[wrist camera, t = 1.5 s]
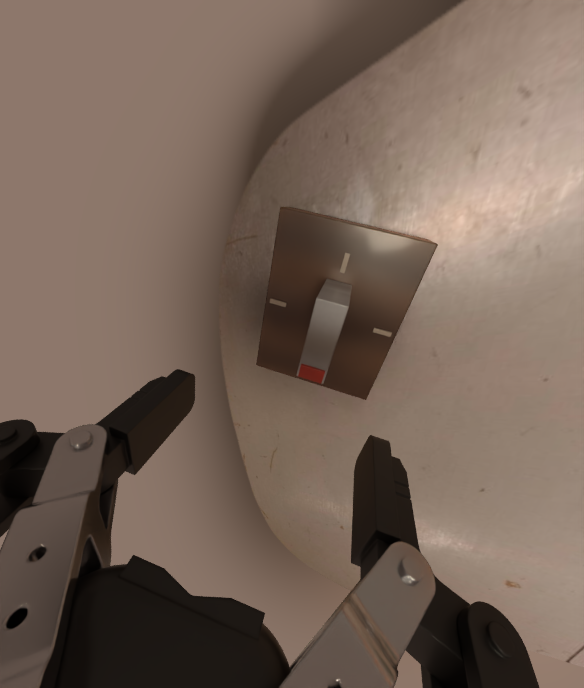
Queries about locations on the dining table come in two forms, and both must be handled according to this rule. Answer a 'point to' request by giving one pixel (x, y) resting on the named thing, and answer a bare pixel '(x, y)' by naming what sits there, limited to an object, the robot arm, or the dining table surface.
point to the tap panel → (365, 301)
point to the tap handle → (324, 330)
